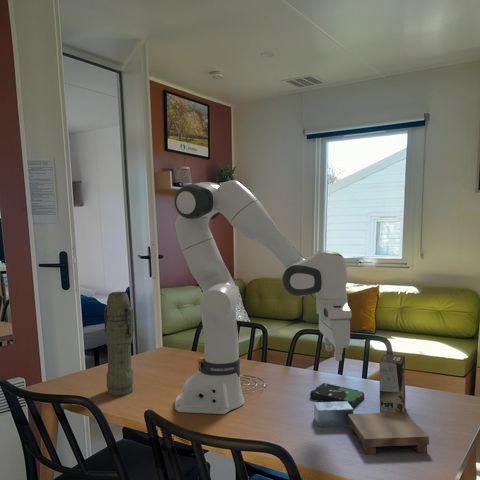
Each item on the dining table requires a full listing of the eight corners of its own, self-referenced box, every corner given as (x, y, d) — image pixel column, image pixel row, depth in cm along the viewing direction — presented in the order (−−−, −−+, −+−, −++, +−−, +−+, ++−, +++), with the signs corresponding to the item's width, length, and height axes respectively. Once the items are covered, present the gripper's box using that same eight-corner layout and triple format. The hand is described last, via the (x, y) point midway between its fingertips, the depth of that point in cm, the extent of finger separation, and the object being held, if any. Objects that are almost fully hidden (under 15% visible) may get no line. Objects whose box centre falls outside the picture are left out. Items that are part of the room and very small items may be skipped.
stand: (365, 455, 102) (365, 438, 102) (347, 428, 116) (347, 414, 116) (429, 452, 102) (428, 436, 102) (404, 426, 116) (404, 412, 116)
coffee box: (402, 419, 121) (401, 364, 120) (379, 414, 124) (378, 361, 124) (406, 407, 129) (405, 355, 128) (384, 403, 132) (384, 353, 132)
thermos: (113, 385, 152) (111, 290, 151) (141, 388, 148) (139, 291, 147) (97, 394, 143) (95, 293, 143) (127, 398, 139) (124, 294, 139)
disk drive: (309, 400, 137) (353, 410, 128) (309, 392, 137) (353, 401, 128) (323, 390, 145) (364, 399, 136) (322, 382, 145) (364, 390, 136)
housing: (318, 428, 117) (318, 410, 116) (314, 419, 122) (313, 402, 122) (353, 426, 117) (353, 409, 117) (347, 418, 122) (347, 401, 122)
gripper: (313, 301, 129) (314, 345, 129) (330, 314, 109) (331, 366, 109) (333, 300, 129) (334, 344, 130) (353, 313, 109) (355, 365, 109)
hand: (333, 355), depth 119 cm, fingers open, 8 cm apart
